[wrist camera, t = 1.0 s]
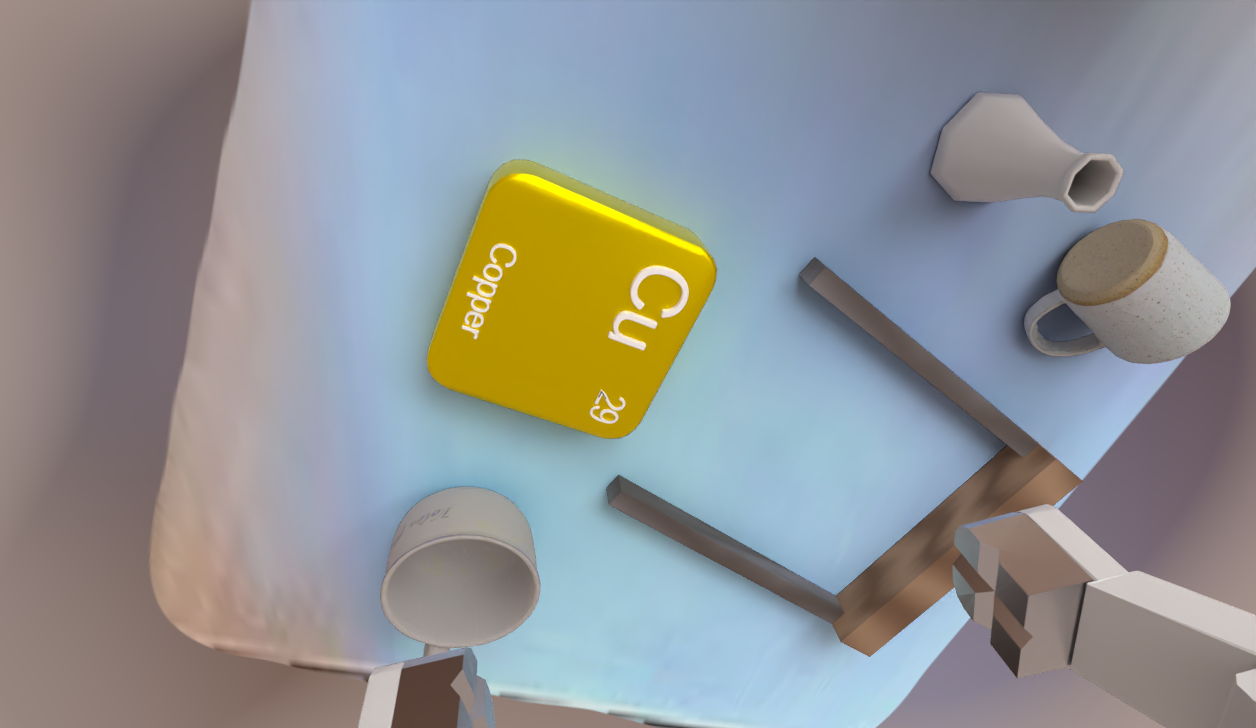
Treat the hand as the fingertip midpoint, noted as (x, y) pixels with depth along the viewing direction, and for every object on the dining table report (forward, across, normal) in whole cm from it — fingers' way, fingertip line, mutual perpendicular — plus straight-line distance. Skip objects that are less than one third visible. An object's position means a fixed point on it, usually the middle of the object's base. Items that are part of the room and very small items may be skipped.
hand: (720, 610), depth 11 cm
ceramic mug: (+35, -36, +16) cm, 53 cm away
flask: (+35, -27, +4) cm, 44 cm away
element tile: (+36, +2, +8) cm, 37 cm away
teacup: (+36, +15, +26) cm, 47 cm away
